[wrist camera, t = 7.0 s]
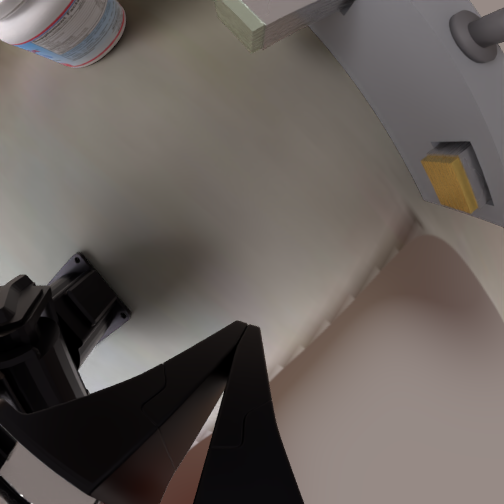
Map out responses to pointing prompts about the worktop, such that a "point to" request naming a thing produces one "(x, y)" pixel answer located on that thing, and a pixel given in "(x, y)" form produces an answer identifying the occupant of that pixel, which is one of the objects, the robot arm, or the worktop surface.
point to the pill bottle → (63, 28)
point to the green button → (272, 18)
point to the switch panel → (428, 80)
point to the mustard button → (457, 176)
